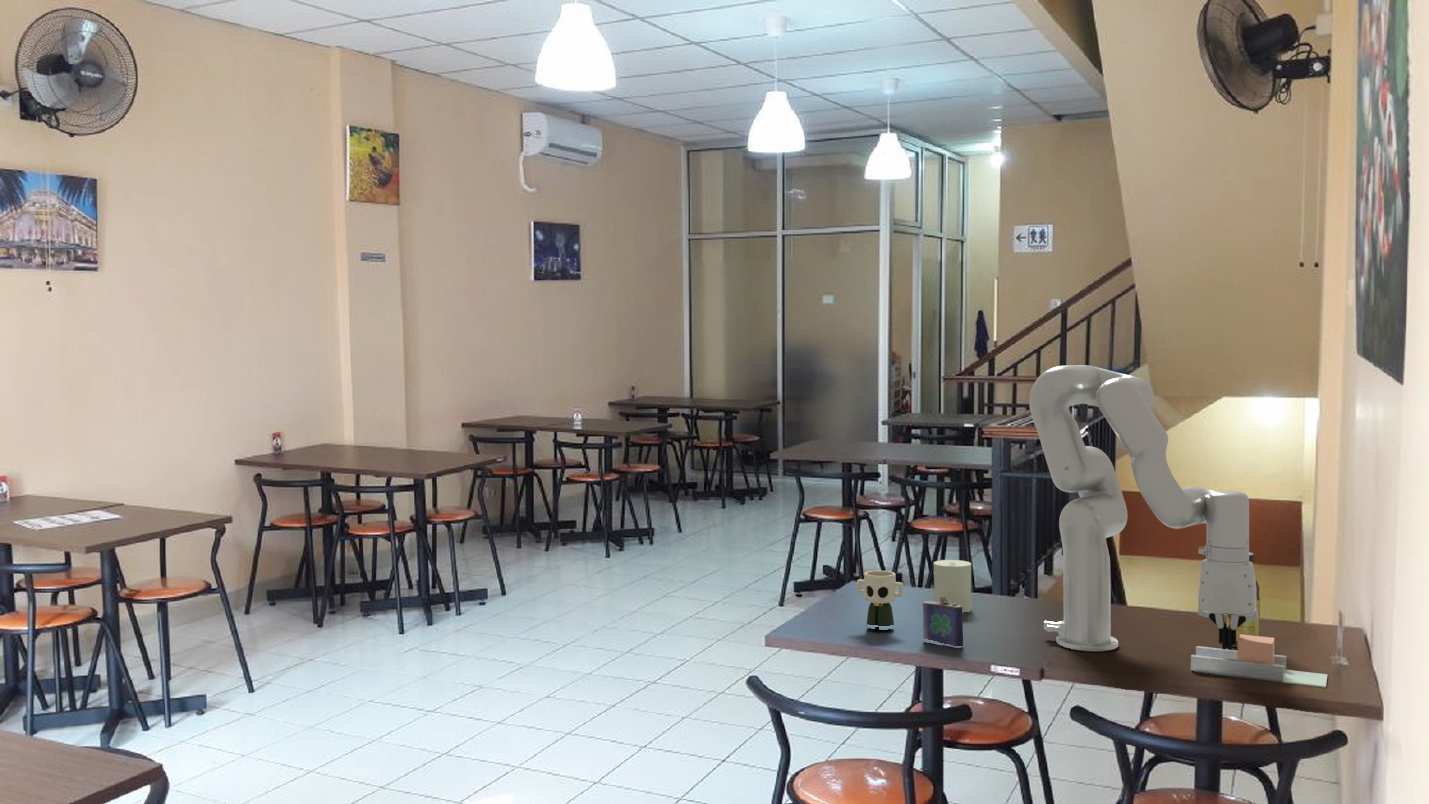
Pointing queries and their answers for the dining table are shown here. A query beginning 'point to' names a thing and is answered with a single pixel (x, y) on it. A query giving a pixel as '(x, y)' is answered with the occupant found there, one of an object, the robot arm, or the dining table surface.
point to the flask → (943, 622)
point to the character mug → (880, 595)
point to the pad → (1305, 678)
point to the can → (953, 582)
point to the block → (1256, 649)
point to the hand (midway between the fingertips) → (1227, 647)
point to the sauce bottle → (1252, 626)
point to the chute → (1236, 665)
